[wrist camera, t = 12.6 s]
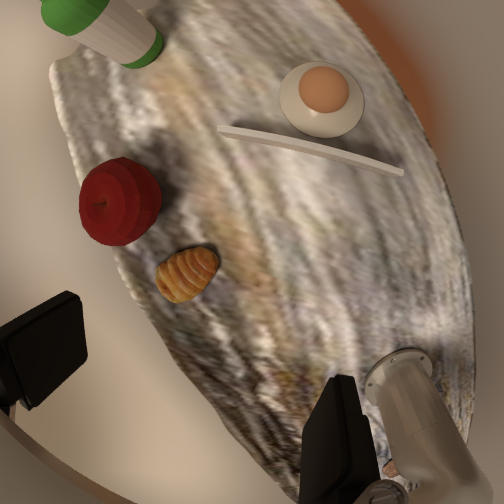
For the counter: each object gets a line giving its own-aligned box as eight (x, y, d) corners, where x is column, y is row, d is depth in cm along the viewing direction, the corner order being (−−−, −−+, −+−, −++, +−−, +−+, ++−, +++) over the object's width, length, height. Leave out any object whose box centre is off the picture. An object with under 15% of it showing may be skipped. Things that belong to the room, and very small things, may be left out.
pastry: (202, 232, 37) (193, 237, 34) (231, 272, 38) (224, 281, 34) (156, 267, 40) (144, 275, 36) (182, 303, 41) (173, 314, 37)
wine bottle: (150, 24, 30) (31, -64, 1) (174, 44, 31) (42, -63, 2) (116, 57, 32) (-21, -5, 4) (137, 79, 33) (-21, 11, 4)
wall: (391, 171, 31) (404, 170, 27) (390, 177, 32) (403, 176, 27) (227, 131, 33) (218, 124, 29) (226, 137, 34) (217, 131, 29)
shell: (374, 463, 45) (376, 474, 41) (422, 439, 42) (425, 450, 38) (388, 476, 46) (390, 486, 42) (431, 454, 43) (435, 464, 39)
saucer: (377, 117, 30) (379, 117, 29) (307, 152, 33) (307, 152, 32) (333, 52, 28) (333, 50, 28) (263, 84, 31) (263, 83, 31)
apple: (145, 249, 39) (97, 273, 28) (104, 199, 38) (52, 207, 27) (193, 197, 36) (151, 204, 25) (146, 146, 35) (95, 136, 24)
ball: (354, 107, 30) (363, 91, 24) (314, 126, 31) (317, 113, 25) (328, 71, 29) (332, 50, 23) (290, 89, 30) (287, 70, 25)
